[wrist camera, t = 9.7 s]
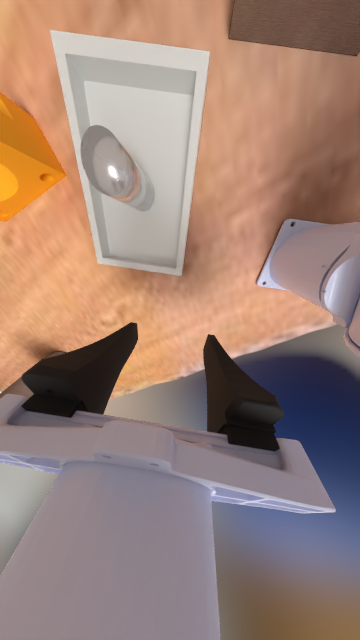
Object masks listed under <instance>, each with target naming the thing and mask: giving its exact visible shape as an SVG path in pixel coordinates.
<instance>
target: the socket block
mask: <svg viewBox="0 0 360 640" xmlns="http://www.w3.org/2000/svg"><path fill="white" fill-rule="evenodd" d="M229 39H235V40H243V41H250V42H258V43H265V44H273V45H280V46H288V47H295V48H303V49H310V50H318V51H325V52H333V53H340V54H348V55H355V56H357V55H358V53H359V52H360V0H235V3H234V9H233V15H232V21H231V27H230V33H229Z"/></svg>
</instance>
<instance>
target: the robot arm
mask: <svg viewBox="0 0 360 640" xmlns="http://www.w3.org/2000/svg"><path fill="white" fill-rule="evenodd" d="M292 222H293V226H292V227H291V226H290V225H291V223H292ZM263 282H265V284H263ZM257 285H258V286H262V287H269V288H275V289H282V290H288V291H291V292H292V293H294V294H296V295H298V296H300V297H302V298H304V299H306V300H308V301H310V302H312V303H314V304H316V305H318V306H320V307H321V308H323V309H325V310H327V311H329V312H330V313H332V315H333V321H334V322H336V323H338V324H339V325H341V326H343V327H345V328H347V329H346V331H345V333H344V341H345V343H346V345H347V347H348V348H349V349H350V350H351V351H352V352H353V353H355V354H356V355H357V356H358V357H360V221H359V222H350V223H342V224H334V225H332V224H325V223H318V222H311V221H304V220H297V219H287V220H285V221H284V223H283V224H282V227H281V229H280V231H279V233H278V236H277V238H276V240H275V242H274V244H273V247H272V249H271V251H270V253H269V256H268V258H267V260H266V262H265V264H264V267H263V269H262V271H261V273H260V276H259V278H258V280H257ZM137 340H138V330H137V323H132V322H131V323H129V324H128V325H126V326H124V327H123V328H121V329H119V330H118V331H116V332H114V333H113V334H111V335H109V336H107V337H105V338H103V339H101V340H99V341H97V342H95V343H93V344H90V345H88V346H85V347H83V348H80V349H77V350H74V351H71V352H68V353H65V354H61V355H57V356H53V357H49V358H45V359H42V360H41V361H39V362H38V363H37V364H35V365H34V366H33V367H32V368H30V369H29V370H28V371H26V372H25V373H24V374H23V375H22V381H23V383H24V384H25V385H26V386H27V387H28V388H29V389H30V390H31V391H32V392H33V393H34V394H33V395H32V396H31V397H30V398H27V397H25V396H20V395H14V394H6V395H4V396H3V397H2V398H1V399H0V463H5V464H10V465H15V466H20V467H25V468H30V469H35V470H40V471H44V472H50V473H54V474H59V475H58V477H57V479H56V480H55V482H54V484H53V486H52V487H51V489H50V491H49V492H48V494H47V496H46V498H45V499H44V501H43V503H42V505H41V506H40V508H39V510H38V512H37V513H36V515H35V517H34V518H33V520H32V522H31V524H30V526H29V527H28V529H27V531H26V532H25V534H24V536H23V538H22V539H21V541H20V543H19V544H18V546H17V548H16V550H15V551H14V553H13V555H12V557H11V559H10V560H9V562H8V564H7V565H6V567H5V569H4V571H3V572H2V574H1V576H0V640H220V627H219V626H220V625H219V611H218V596H217V581H216V566H215V552H214V538H213V522H212V507H211V501H218V502H226V503H234V504H242V505H250V506H258V507H265V508H272V509H279V510H285V511H292V512H298V513H323V512H335V510H336V509H335V508H334V506H333V504H332V502H331V500H330V498H329V496H328V494H327V492H326V491H325V489H324V487H323V485H322V483H321V481H320V479H319V477H318V475H317V474H316V472H315V470H314V468H313V466H312V464H311V462H310V460H309V458H308V457H307V455H306V453H305V451H304V449H303V447H302V445H301V443H300V442H299V441H296V440H290V439H284V438H277V439H276V437H275V435H274V433H275V428H274V426H273V424H275V423H276V422H277V421H278V420H280V419H281V418H282V417H283V414H284V412H283V410H282V408H281V406H280V404H279V402H278V400H277V399H276V397H275V396H274V395H272V394H271V393H270V392H268V391H267V390H266V389H264V388H263V387H261V386H260V385H259V384H257V383H256V382H255V381H254V380H252V379H251V378H250V377H249V376H248V375H247V374H246V373H245V372H243V371H242V370H241V369H240V368H239V367H238V366H237V365H236V364H235V362H234V361H233V360H232V359H231V358H230V357H229V355H228V354H227V353H226V352H225V350H224V349H223V348H222V346H221V345H220V343H219V342H218V340H217V339H216V337H215V336H214V335H209V334H208V336H207V339H206V343H205V346H204V349H203V356H204V366H205V373H206V381H207V405H208V409H207V415H208V416H207V432H206V431H200V430H193V429H188V428H182V427H176V426H169V425H163V424H157V423H151V422H145V421H138V420H133V419H126V418H120V417H114V416H108V415H103V414H104V411H105V408H106V406H107V403H108V400H109V398H110V395H111V393H112V390H113V388H114V386H115V383H116V381H117V379H118V377H119V374H120V372H121V370H122V368H123V366H124V365H125V363H126V361H127V360H128V358H129V356H130V354H131V353H132V351H133V349H134V347H135V345H136V343H137Z"/></svg>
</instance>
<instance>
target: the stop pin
mask: <svg viewBox="0 0 360 640" xmlns="http://www.w3.org/2000/svg"><path fill="white" fill-rule="evenodd" d="M80 151H81V160H82V164H83V168H84V170H85V173H86V175H87V177H88V179H89V181H90V182H91V183H92V185H93V186H94V187H95V188H96V189H97V190H98V191H99V192H101V193H103V194H105V195H107V196H109V197H111V198H114V199H116V200H118V201H120V202H122V203H124V204H126V205H129V206H131V207H133V208H135V209H137V210H139V211H147V210H148V209H150V208H151V206H152V205H153V202H154V198H155V192H154V187H153V184H152V182H151V180H150V179H149V178H148V176H147V175H146V174H145V173H144V171H143V170H142V169H141V168H140V166H139V165H138V164H137V163H136V162H135V160H134V159H133V158H132V157H131V155H130V154H129V153H128V152H127V150H126V149H125V148H124V147H123V146H122V144H121V143H120V142H119V141H118V139H117V138H116V137H115V136H114V135H113V133H112V132H111V131H109V130H108V129H107V128H105V127H103V126H100V125H93V126H91V127H89V128H88V129H87V130H86V131H85V133H84V134H83V137H82V140H81V149H80Z"/></svg>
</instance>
